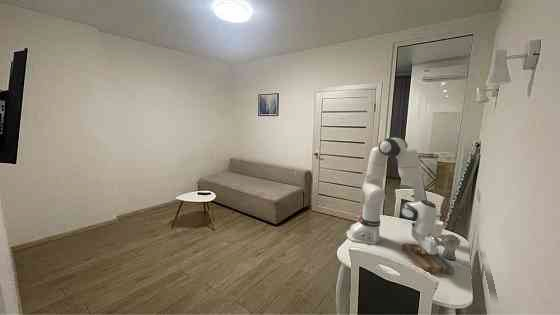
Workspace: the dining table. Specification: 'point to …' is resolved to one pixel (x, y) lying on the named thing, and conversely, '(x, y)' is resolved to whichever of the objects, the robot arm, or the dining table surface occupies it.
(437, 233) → the white cup
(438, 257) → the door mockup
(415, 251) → the lock bar
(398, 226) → the dining table surface
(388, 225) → the dining table surface
